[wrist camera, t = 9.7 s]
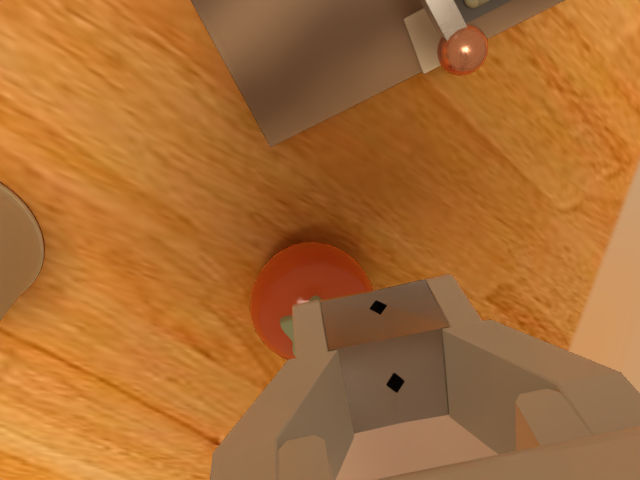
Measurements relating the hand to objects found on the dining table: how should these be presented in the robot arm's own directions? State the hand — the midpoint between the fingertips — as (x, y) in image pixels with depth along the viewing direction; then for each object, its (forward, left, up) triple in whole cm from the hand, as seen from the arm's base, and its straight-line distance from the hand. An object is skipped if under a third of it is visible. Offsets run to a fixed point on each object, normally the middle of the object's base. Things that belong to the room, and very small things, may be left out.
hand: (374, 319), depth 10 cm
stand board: (+7, -6, -22) cm, 24 cm away
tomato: (-11, +5, -22) cm, 25 cm away
